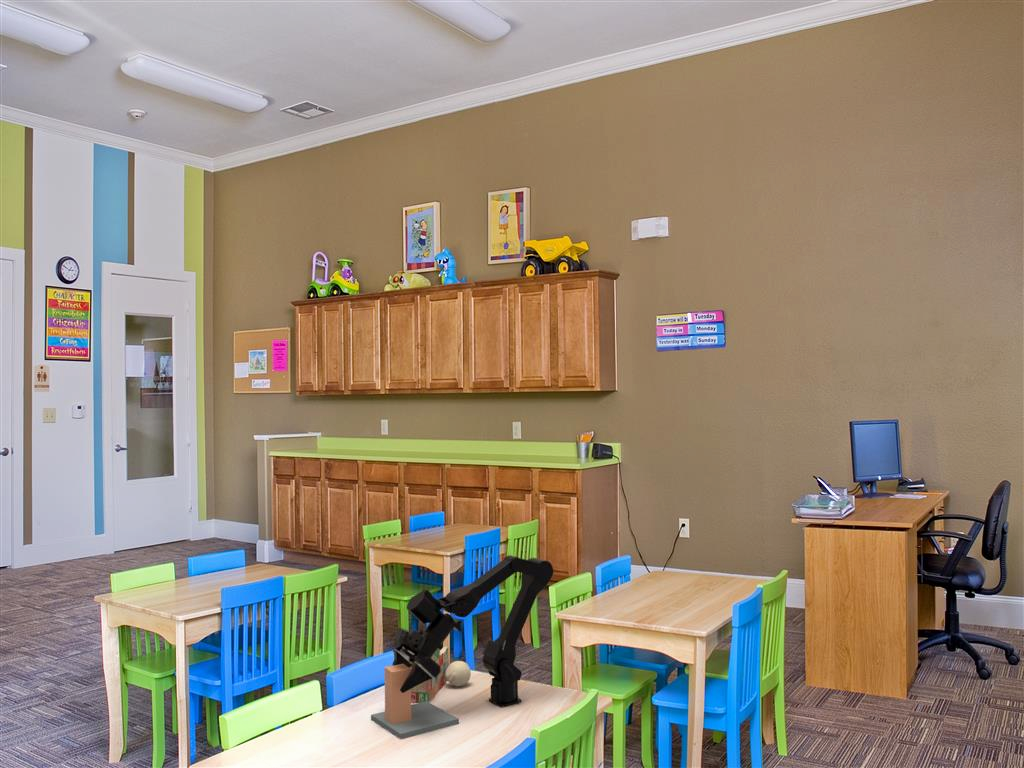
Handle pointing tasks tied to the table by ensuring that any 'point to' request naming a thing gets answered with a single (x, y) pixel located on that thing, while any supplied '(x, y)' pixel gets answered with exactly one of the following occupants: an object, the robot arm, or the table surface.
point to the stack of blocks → (431, 686)
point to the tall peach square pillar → (397, 694)
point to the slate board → (418, 720)
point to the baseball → (458, 673)
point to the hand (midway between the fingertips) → (394, 686)
